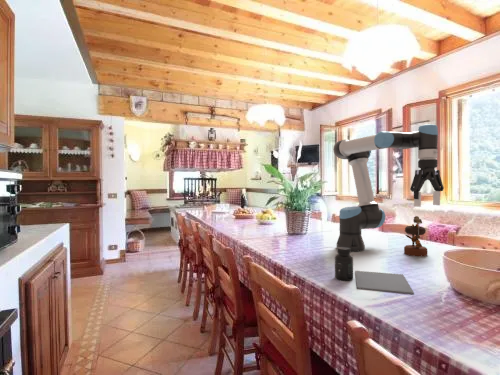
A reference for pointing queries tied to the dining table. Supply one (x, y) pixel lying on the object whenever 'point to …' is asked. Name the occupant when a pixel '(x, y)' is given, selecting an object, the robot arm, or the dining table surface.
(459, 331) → the dining table surface
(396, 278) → the mat
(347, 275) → the supplement bottle
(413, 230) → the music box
